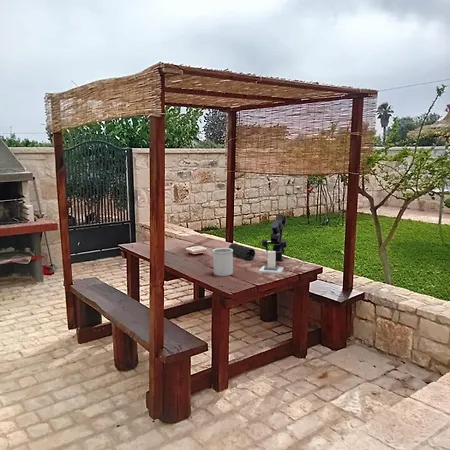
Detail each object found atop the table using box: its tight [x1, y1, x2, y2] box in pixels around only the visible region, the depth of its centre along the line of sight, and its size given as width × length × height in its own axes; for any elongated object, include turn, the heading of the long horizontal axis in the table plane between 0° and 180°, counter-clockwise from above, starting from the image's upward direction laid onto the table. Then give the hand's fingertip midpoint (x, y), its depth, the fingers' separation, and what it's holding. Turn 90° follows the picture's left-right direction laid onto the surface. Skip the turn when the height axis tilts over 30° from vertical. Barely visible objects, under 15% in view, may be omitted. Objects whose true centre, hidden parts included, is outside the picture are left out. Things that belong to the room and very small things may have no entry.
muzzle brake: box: [228, 242, 256, 261], centre depth 362 cm, size 10×28×10 cm, turn 32°
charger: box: [267, 250, 276, 268], centre depth 318 cm, size 5×5×13 cm
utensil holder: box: [212, 247, 234, 277], centre depth 311 cm, size 15×15×18 cm
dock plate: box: [258, 264, 285, 275], centre depth 319 cm, size 16×16×3 cm
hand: (272, 252), depth 323 cm, fingers open, 9 cm apart
